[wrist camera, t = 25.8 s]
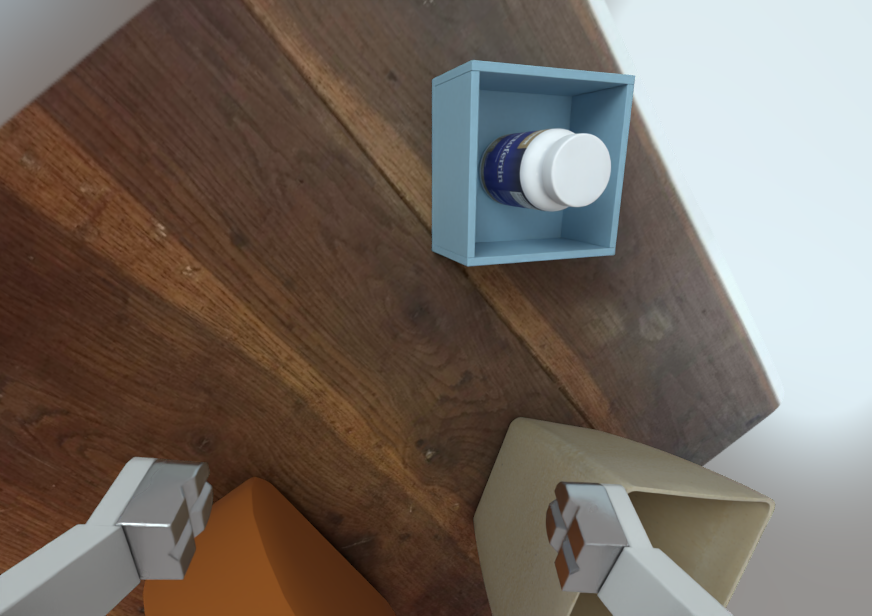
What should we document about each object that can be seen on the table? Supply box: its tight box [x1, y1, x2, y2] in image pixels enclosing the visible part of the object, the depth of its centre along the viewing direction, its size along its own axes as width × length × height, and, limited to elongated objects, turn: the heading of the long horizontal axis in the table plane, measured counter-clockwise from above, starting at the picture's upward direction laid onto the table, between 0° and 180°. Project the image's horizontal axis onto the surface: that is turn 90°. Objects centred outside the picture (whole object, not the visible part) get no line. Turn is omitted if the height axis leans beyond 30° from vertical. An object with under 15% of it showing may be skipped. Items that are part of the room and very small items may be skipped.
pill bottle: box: [479, 128, 611, 212], centre depth 35 cm, size 6×6×10 cm
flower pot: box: [473, 417, 775, 616], centre depth 43 cm, size 19×19×17 cm
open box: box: [432, 60, 635, 266], centre depth 36 cm, size 13×13×7 cm
